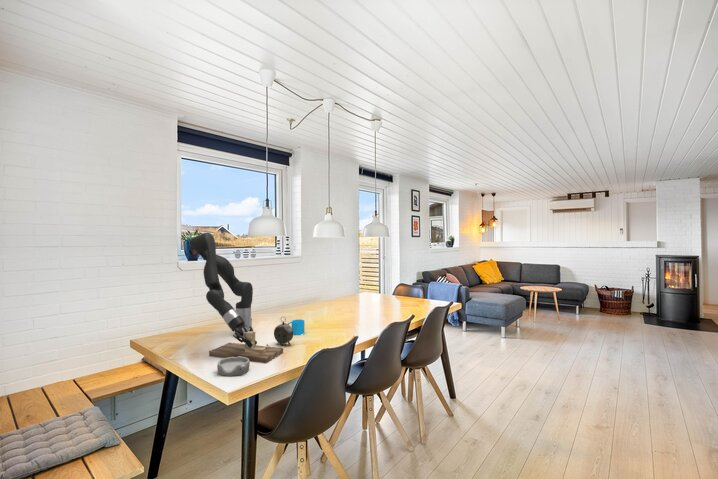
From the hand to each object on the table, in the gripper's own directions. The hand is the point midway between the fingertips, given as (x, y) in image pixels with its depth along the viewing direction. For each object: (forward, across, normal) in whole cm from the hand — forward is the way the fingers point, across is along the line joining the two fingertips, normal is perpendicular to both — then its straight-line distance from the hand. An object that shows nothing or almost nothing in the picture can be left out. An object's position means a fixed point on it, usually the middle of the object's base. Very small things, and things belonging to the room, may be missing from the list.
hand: (253, 345), depth 178 cm
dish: (+6, -19, +3) cm, 20 cm away
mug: (+4, +46, +5) cm, 47 cm away
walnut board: (0, +2, +8) cm, 9 cm away
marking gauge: (+3, +4, +2) cm, 5 cm away
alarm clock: (+7, +22, +1) cm, 23 cm away
